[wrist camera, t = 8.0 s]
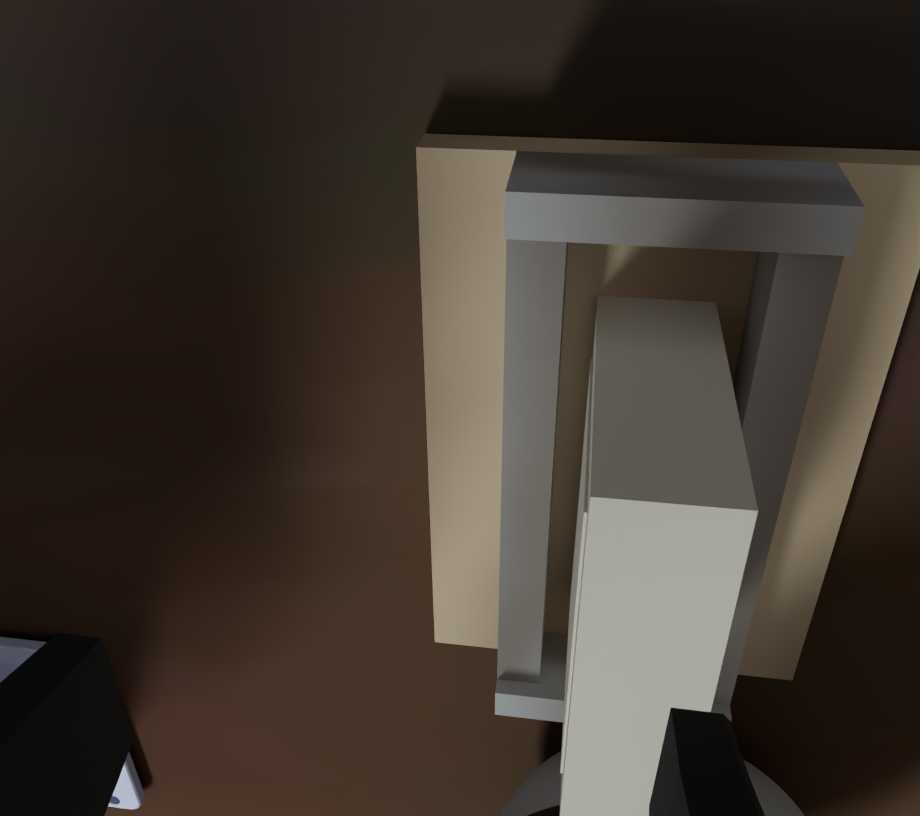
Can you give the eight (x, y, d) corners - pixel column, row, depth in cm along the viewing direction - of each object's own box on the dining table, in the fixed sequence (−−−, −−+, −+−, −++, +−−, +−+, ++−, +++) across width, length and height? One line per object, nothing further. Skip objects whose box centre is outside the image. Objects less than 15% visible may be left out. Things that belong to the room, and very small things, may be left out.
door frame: (439, 618, 24) (421, 706, 21) (423, 133, 16) (392, 186, 14) (787, 654, 23) (806, 751, 20) (935, 151, 15) (993, 211, 13)
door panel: (569, 592, 21) (556, 827, 16) (594, 295, 17) (586, 495, 12) (666, 602, 21) (681, 843, 16) (718, 302, 17) (762, 511, 12)
